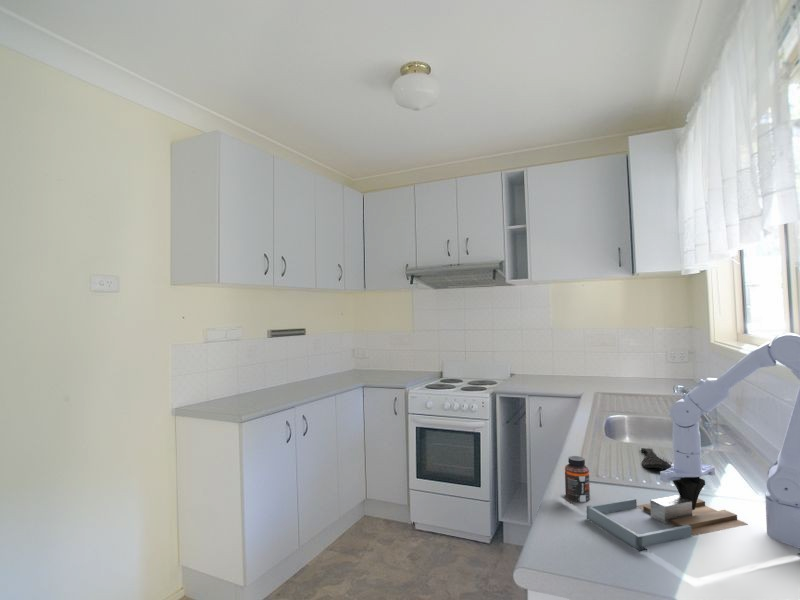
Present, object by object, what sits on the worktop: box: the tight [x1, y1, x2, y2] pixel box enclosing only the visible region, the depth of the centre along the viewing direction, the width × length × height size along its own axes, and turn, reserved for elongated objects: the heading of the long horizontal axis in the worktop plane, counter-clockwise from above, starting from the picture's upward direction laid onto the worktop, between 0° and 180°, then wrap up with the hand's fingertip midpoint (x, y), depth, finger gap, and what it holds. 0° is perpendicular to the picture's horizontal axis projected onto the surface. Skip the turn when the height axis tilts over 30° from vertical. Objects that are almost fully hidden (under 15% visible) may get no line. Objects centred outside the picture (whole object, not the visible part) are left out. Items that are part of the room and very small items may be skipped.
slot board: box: [637, 498, 749, 536], centre depth 109 cm, size 16×16×2 cm
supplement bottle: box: [564, 455, 591, 504], centre depth 120 cm, size 6×6×11 cm
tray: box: [586, 497, 693, 553], centre depth 105 cm, size 16×14×3 cm
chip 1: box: [650, 496, 679, 525], centre depth 107 cm, size 4×4×4 cm
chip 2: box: [664, 494, 692, 518], centre depth 108 cm, size 4×4×4 cm
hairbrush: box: [641, 447, 673, 470], centre depth 151 cm, size 8×4×25 cm
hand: (688, 508), depth 109 cm, fingers closed
